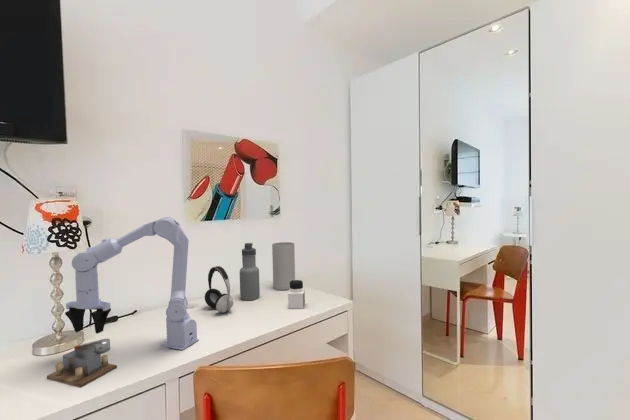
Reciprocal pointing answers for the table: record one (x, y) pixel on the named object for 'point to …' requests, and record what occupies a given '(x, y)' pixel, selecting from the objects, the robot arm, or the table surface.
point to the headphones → (218, 292)
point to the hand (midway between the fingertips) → (89, 331)
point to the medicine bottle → (296, 295)
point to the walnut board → (86, 378)
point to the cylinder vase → (283, 265)
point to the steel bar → (82, 362)
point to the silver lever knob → (95, 346)
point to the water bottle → (249, 274)
